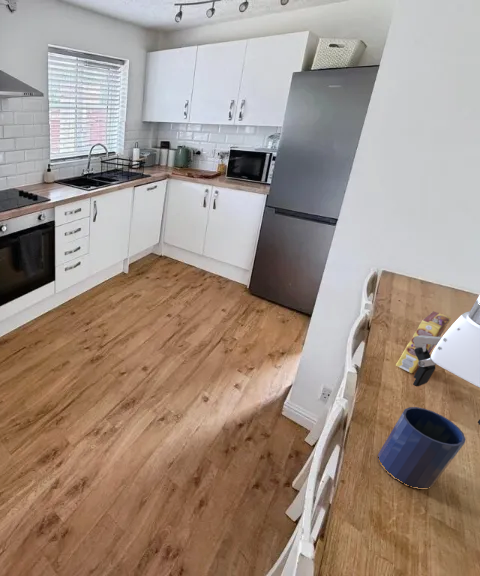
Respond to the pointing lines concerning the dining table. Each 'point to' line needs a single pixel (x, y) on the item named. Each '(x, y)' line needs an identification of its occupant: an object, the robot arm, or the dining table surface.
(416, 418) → the blue round container
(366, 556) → the dining table surface
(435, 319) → the candy box
